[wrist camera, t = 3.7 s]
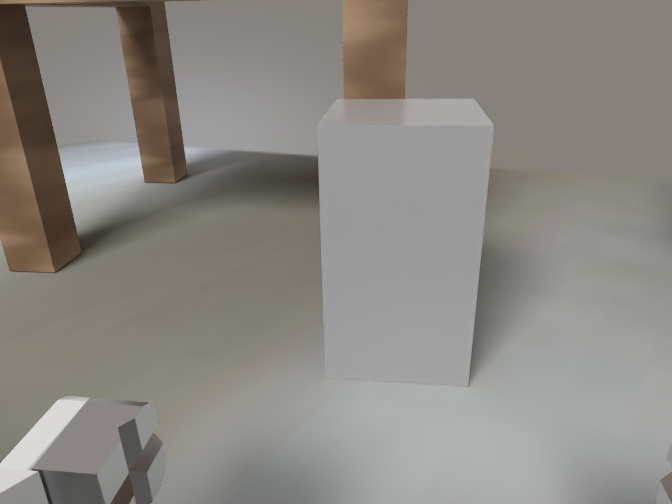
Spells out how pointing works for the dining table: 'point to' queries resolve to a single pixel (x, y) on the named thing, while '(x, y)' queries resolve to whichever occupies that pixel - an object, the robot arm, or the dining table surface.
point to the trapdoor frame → (137, 112)
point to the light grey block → (402, 237)
